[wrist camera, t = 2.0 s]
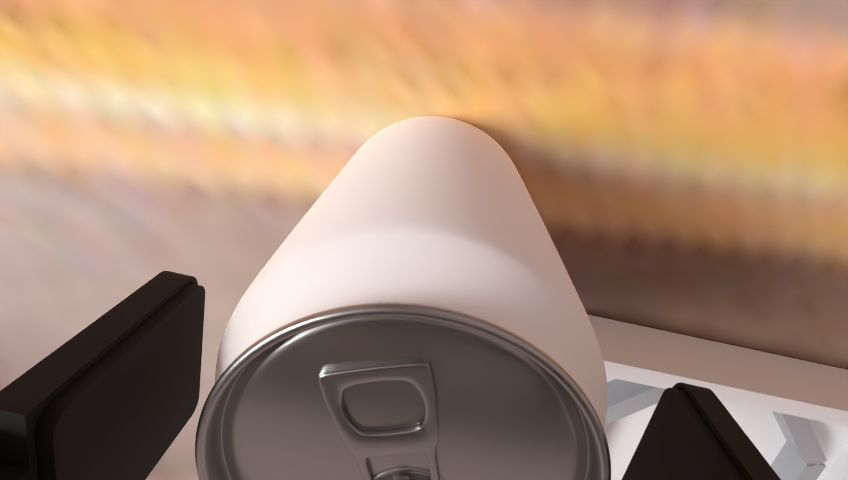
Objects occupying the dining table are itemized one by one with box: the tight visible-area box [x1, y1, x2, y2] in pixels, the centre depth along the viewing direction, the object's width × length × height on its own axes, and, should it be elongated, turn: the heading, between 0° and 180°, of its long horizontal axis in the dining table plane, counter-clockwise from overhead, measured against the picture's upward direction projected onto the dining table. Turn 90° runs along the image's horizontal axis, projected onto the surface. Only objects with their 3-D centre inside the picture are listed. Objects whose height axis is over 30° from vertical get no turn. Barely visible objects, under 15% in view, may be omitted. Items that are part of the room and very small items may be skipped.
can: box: [195, 116, 611, 480], centre depth 12 cm, size 6×6×12 cm
